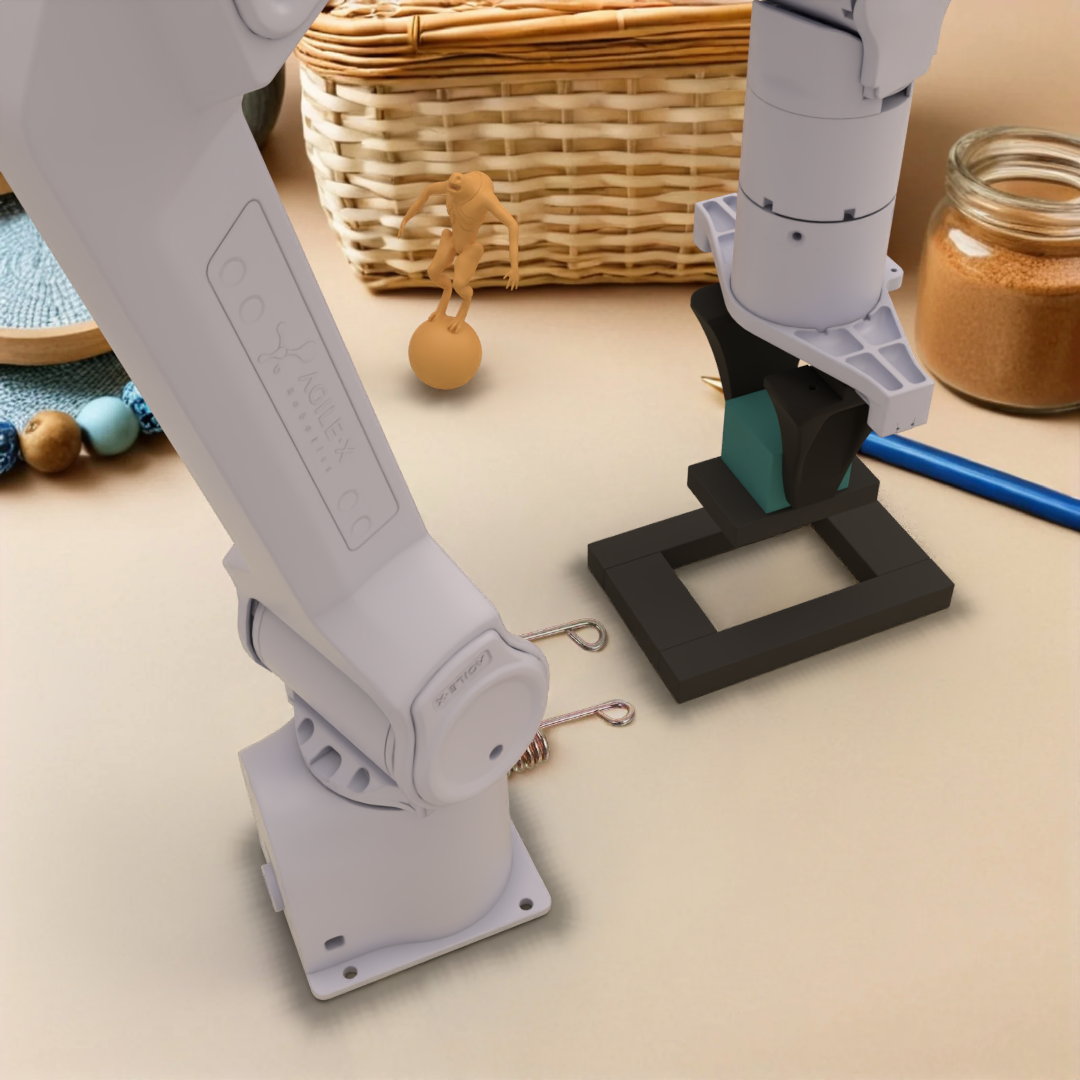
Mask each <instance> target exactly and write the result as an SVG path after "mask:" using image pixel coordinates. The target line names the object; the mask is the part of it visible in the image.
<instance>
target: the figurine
mask: <svg viewBox="0 0 1080 1080" xmlns="http://www.w3.org/2000/svg"><path fill="white" fill-rule="evenodd" d="M431 195H445V209H446V212H447V215H448V217H449V221H450V222H449V223H450V224H451V229H449V228H444V229H443V230H442V231H441V233H440V235H441V236H440V239H439V245H438V248H437V249H436V251H435V254H434V256H433V258H432V260H431V262H430V264H429V266H427V269H426V273H427V276H428V277H429V279H430V281H431V282H433V283H434V284H436V285H437V286H438V287H439V288H441V289H442V290H443V292H442V295H441V297H440V299H439V302H438V305H437V306H436V309H435V310H434V311H433V312H432V313H430V315H429V316H428V318H427V319H426V320H425V321H423V322H422V323H421V324H420V325H418V327H417V328H415V330H414V332H413V333H412V335H411V337H410V340H409V344H408V350H407V352H408V361H409V364H410V367H411V370H412V372H413V373H414V374H415V376H416V377H417V378H418V380H419V381H421V382H422V383H424V384H425V385H427V386H428V387H431V388H432V389H433V388H434V389H436V390H445V391H448V390H454V389H459V388H460V387H462V386H465V384H467V383H469V382H470V381H471V380H472V379H473V378H474V377H475V375H476V374H477V373H478V371H479V369H480V366H481V363H482V358H483V347H482V343H481V339H480V337H479V336H478V334H477V332H476V330H475V329H474V328H473V327H472V326H471V325H470V324H469V323H468V322H467V321H465V320H466V318H467V315H468V312H469V309H470V308H471V304H472V301H473V300H472V297H473V295H474V290H473V288H472V286H470V285H468V284H469V283H470V281H471V280H472V279H473V277H474V276H475V273H476V270H477V267H478V266H479V263H480V261H481V259H482V258H483V257H484V253H485V249H484V245H482V244H481V243H480V242H479V241H476V239H477V237H478V234H479V230H480V228H481V227H482V225H483V222H484V220H485V218H486V216H487V213H488V212H489V213H491V214H492V215H493V216H494V217H495V218H496V219H497V220H498V221H499V222H500V223H502V224H503V225H504V226H505V227H506V228H508V229H507V230H508V241H509V244H508V245H509V246H508V256H509V257H508V258H509V262H510V263H509V264H510V269H509V271H507V272H506V273H505V275H504V276H503V280H505V279H507V277H508V281H507V284H506V286H505V289H506V290H507V289H509V287H511V288H510V291H513V290H514V288H515V290H517V289H518V285H519V280H520V270H519V269H520V268H519V237H520V228H519V224H518V222H517V221H516V219H515V218H514V217H513V215H512V214H511V213H510V212H509V210H507V209H506V208H505V207H504V206H503V205H502V203H501V202H500V200H499V198H498V197H497V195H495V187H494V182H493V180H492V179H491V177H490V176H489V175H488V174H486V173H485V172H482V171H479V170H472V171H469V172H467V173H461V172H458V171H454V172H453V173H451V175H450V176H449V178H448V179H446V180H443V181H437V182H432V183H430V184H428V185H427V186H425V187H424V188H423V190H422V192H421V193H420V195H419V197H418V198H417V199H416V201H414V203H412V205H411V206H410V207H409V208H408V210H407V212H406V213H405V215H404V216H403V218H402V221H401V223H400V226H399V230H398V232H397V239H398V240H399V239H400V237H401V236H402V233H403V232H404V229H405V227H406V225H407V223H408V222H409V221H410V220H412V218H414V217H415V216H416V215H417V214H418V213H419V212H420V211H421V209H422V208H423V206H425V203H427V202H428V200H429V198H430V196H431ZM456 254H457V255H458V256H457V257H456ZM455 257H456V259H455ZM454 260H455V261H454ZM452 265H453V277H452V279H451V278H450V276H448V275H446V274H444V273H443V271H444V270H445V269H449V268H450V267H451V266H452ZM510 285H511V286H510ZM452 286H453V287H452ZM453 288H454V291H455V293H457V294H458V296H460V297H461V298H462V299H463V300H461V301H462V302H461V304H460V306H459V309H458V311H457V313H456V315H455V316H452V315H447V309H448V306H449V303H450V299H451V296H452V293H453Z"/></svg>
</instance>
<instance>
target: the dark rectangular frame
mask: <svg viewBox="0 0 1080 1080" xmlns="http://www.w3.org/2000/svg"><path fill="white" fill-rule="evenodd" d="M808 525H810V526H812V528H813V529H814V530H815V531H816V532H817V534H818V535H819V536H820V537H821V539H822V540H823V541H824V542H825V543H826V545H828V547H829V548H830V549H831V551H833V553H834V554H835V555H836V556H837V558H839V560H840V561H841V562H842V563H843V564H844V566H845V567H846V568H847V569H848V571H849V572H850V573H851V574H852V575H853V576H854V577H855V578H856V580H857V581H858V583H855V584H853V585H849V586H847V587H844V588H841V589H838V590H835V591H832V592H829V593H825V594H823V595H820V596H818V597H814V598H812V599H809V600H806V601H803V602H800V603H797V604H795V605H792V606H789V607H785V608H783V609H780V610H777V611H775V612H772V613H768V614H765V615H763V616H760V617H757V618H754V619H751V620H748V621H745V622H742V623H739V624H737V625H734V626H730V627H728V628H725V629H722V630H719V631H718V630H717V628H716V627H715V625H714V624H713V623H712V621H711V620H710V619H709V617H708V616H707V614H706V613H705V612H704V610H703V609H702V608H701V606H700V605H699V604H698V602H697V600H696V599H695V598H694V597H693V595H692V593H691V592H690V591H689V590H688V588H687V587H686V585H685V584H684V583H683V581H682V580H681V578H680V577H679V576H678V574H677V573H676V571H675V570H674V569H677V568H680V567H683V566H686V565H689V564H690V565H691V564H693V563H696V562H698V561H701V560H704V559H708V558H711V557H713V556H716V555H720V554H723V553H726V552H729V551H733V550H735V549H738V548H741V547H745V546H747V545H750V544H753V543H756V542H760V541H762V540H766V539H768V538H772V537H774V536H777V535H781V534H783V533H787V532H790V531H793V530H796V529H799V528H801V527H804V526H808ZM587 568H588V569H589V571H590V573H591V574H592V575H593V577H594V578H595V580H596V581H597V584H599V586H600V587H601V589H602V590H603V592H604V593H605V595H606V596H607V598H608V600H609V601H610V602H611V604H612V606H613V607H614V609H615V610H616V612H617V613H618V615H619V616H620V618H621V620H622V621H623V622H624V624H625V626H626V627H627V628H628V630H629V632H630V633H631V635H632V636H633V637H634V639H635V641H636V642H637V644H638V645H639V647H640V648H641V650H642V651H643V653H644V655H645V656H646V658H647V659H648V660H649V662H650V664H651V666H652V667H653V668H654V669H655V671H656V672H657V674H658V676H659V678H660V679H661V680H662V682H663V684H664V685H665V687H666V688H667V689H668V691H669V693H670V694H671V695H672V697H673V699H674V701H676V703H677V704H682V703H685V702H688V701H691V700H693V699H696V698H699V697H703V696H704V695H707V694H710V693H713V692H716V691H719V690H721V689H724V688H727V687H729V686H732V685H735V684H738V683H741V682H744V681H746V680H750V679H753V678H754V677H758V676H761V675H763V674H766V673H769V672H771V671H775V670H777V669H780V668H783V667H785V666H788V665H791V664H794V663H797V662H800V661H803V660H806V659H809V658H811V657H813V656H816V655H820V654H822V653H825V652H827V651H831V650H834V649H835V648H839V647H841V646H845V645H847V644H850V643H852V642H856V641H858V640H861V639H864V638H868V637H870V636H872V635H874V634H877V633H881V632H884V631H887V630H889V629H891V628H894V627H897V626H900V625H903V624H905V623H909V622H912V621H915V620H917V619H921V618H923V617H925V616H928V615H931V614H934V613H937V612H939V611H942V610H945V609H947V608H950V607H951V602H952V599H953V595H954V590H955V585H956V584H955V582H953V581H952V579H951V578H950V577H949V575H947V574H946V572H945V571H944V570H942V568H941V567H940V566H939V565H938V564H937V563H936V561H934V560H933V559H932V558H931V557H930V556H929V555H928V554H927V552H926V551H925V550H924V549H923V548H922V547H921V546H920V544H919V543H917V541H916V540H915V539H914V538H913V537H912V536H911V534H909V532H907V530H906V529H905V528H904V527H903V526H902V525H901V524H900V523H899V522H898V521H897V520H896V518H895V517H894V516H893V515H892V514H891V513H890V512H889V511H888V510H887V509H886V508H885V506H884V505H883V504H882V503H881V502H880V501H879V500H878V499H877V501H876V502H873V503H870V504H867V505H864V506H861V507H858V508H855V509H852V510H849V511H846V512H843V513H840V514H837V515H834V516H831V517H828V518H824V519H821V520H818V521H815V522H812V523H809V524H806V525H803V526H800V527H797V528H794V529H791V530H788V531H785V532H782V533H779V534H776V535H773V536H770V537H767V538H764V539H761V540H758V541H755V542H751V543H748V544H745V545H742V546H739V547H736V548H735V547H734V546H733V545H732V544H731V542H730V541H729V540H728V538H727V537H726V536H725V534H724V533H723V532H722V531H721V529H720V528H719V527H718V525H717V524H716V523H715V522H714V520H713V519H712V518H711V516H710V515H709V514H708V512H707V511H706V510H705V509H704V507H703V506H702V507H699V508H696V509H694V510H693V509H692V510H690V511H687V512H684V513H680V514H677V515H674V516H671V517H669V518H665V519H662V520H658V521H655V522H652V523H649V524H646V525H643V526H640V527H637V528H633V529H630V530H627V531H624V532H621V533H618V534H614V535H611V536H609V537H604V538H602V539H599V540H595V541H592V542H590V543H587Z"/></svg>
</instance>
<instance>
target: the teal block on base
mask: <svg viewBox="0 0 1080 1080" xmlns="http://www.w3.org/2000/svg"><path fill="white" fill-rule="evenodd" d="M721 440H722V441H721V449H720V451H721V452H720V455H719V456H716V457H713V458H709V459H706V460H702V461H698V462H695V463H693V464H690V465H688V466H687V477H686V487H687V488H688V490H689V491H690V492H691V493H692V495H693V497H695V499H697V501H698V502H699V504H700V505H701V506H702V507H704V509H705V510H706V511H707V512H708V514H709V515H710V516H711V518H712V519H713V520H714V522H715V523H716V524H717V525H718V527H719V528H720V529H721V531H722V532H723V533H724V534H725V536H726V537H727V538H728V540H729V541H730V542H731V544H732V545H733V546H734V547H735V549H737V548H736V547H738V548H740V547H739V546H741V547H743V546H742V545H744V546H746V545H745V544H747V545H749V544H748V543H750V544H752V543H751V542H753V543H756V542H759V541H762V540H765V539H768V538H767V537H769V538H771V537H770V536H772V537H774V536H773V535H775V536H777V535H776V534H778V535H780V534H779V533H781V534H783V533H782V532H784V533H786V532H785V531H787V532H789V531H788V530H790V531H792V530H791V529H793V530H795V529H794V528H796V529H798V528H797V527H799V528H801V527H800V526H802V527H804V526H803V525H805V526H807V525H806V524H808V525H810V524H809V523H812V522H815V521H818V520H821V519H824V518H828V517H831V516H834V515H837V514H840V513H843V512H846V511H849V510H852V509H855V508H858V507H861V506H864V505H867V504H870V503H873V502H876V501H877V500H878V496H879V491H880V486H881V480H880V479H879V478H878V476H876V475H875V474H874V473H873V472H872V470H871V469H870V468H869V467H868V466H867V465H866V464H865V463H864V462H863V461H862V460H861V459H860V457H859V456H858V455H856V456H855V457H854V459H853V461H852V463H851V465H850V466H849V468H848V470H847V472H846V474H845V476H844V478H843V480H842V482H841V484H840V486H839V488H838V490H837V492H836V494H835V496H834V498H830V499H827V500H824V501H821V502H818V503H815V504H812V505H809V506H806V507H803V508H800V509H793V508H792V507H791V506H790V504H789V503H788V502H787V501H786V497H785V493H784V487H783V479H782V439H781V431H780V426H779V422H778V417H777V414H776V411H775V408H774V405H773V403H772V401H771V399H770V397H769V394H768V392H767V391H766V389H764V390H760V391H757V392H754V393H750V394H747V395H744V396H740V397H737V398H734V399H730V400H727V401H726V402H725V401H724V413H723V425H722V438H721ZM764 538H765V539H764ZM761 539H762V540H761ZM758 540H759V541H758ZM755 541H756V542H755Z"/></svg>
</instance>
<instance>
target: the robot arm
mask: <svg viewBox="0 0 1080 1080" xmlns="http://www.w3.org/2000/svg"><path fill="white" fill-rule="evenodd" d="M329 2H330V0H0V173H1V174H2V176H3V178H4V180H5V181H6V183H7V184H8V185H9V187H10V189H11V190H12V192H13V194H14V195H15V197H16V199H17V200H18V202H19V204H20V205H21V207H22V208H23V209H24V212H25V213H26V215H27V216H28V218H29V219H30V221H31V222H32V224H33V226H34V227H35V229H36V230H37V232H38V233H39V235H40V237H41V238H42V240H43V241H44V243H45V245H46V246H47V247H48V249H49V251H50V253H51V254H52V256H53V257H54V259H55V261H56V262H57V264H58V266H59V267H60V269H61V270H62V272H63V273H64V275H65V277H66V278H67V280H68V281H69V283H70V284H71V286H72V288H73V290H74V291H75V293H76V294H77V296H78V297H79V299H80V300H81V302H82V304H83V305H84V307H85V309H86V310H87V312H88V314H89V315H90V316H91V318H92V320H93V321H94V323H95V324H96V326H97V327H98V330H99V331H100V332H101V334H102V336H103V338H104V339H105V340H106V342H107V343H108V345H109V346H110V348H111V349H112V352H113V353H114V354H115V356H116V358H117V360H118V361H119V362H120V364H121V366H122V367H123V369H124V370H125V372H126V374H127V375H128V378H129V379H130V380H131V381H132V383H133V385H134V386H135V388H136V389H137V391H138V393H139V394H140V396H141V398H142V399H143V401H144V403H145V404H146V406H147V407H148V409H149V411H150V412H151V413H152V415H153V417H154V419H155V420H156V422H157V423H158V425H159V426H160V428H161V429H162V431H163V432H164V434H165V436H166V437H167V439H168V441H169V442H170V444H171V445H172V447H173V448H174V450H175V452H176V453H177V455H178V457H179V459H180V460H181V461H182V463H183V465H184V466H185V468H186V469H187V471H188V472H189V474H190V476H191V477H192V479H193V480H194V482H195V484H196V485H197V487H198V488H199V490H200V492H201V493H202V495H203V497H204V498H205V500H206V501H207V503H208V504H209V506H210V508H211V509H212V511H213V512H214V514H215V516H216V517H217V519H218V520H219V522H220V524H221V525H222V527H223V529H224V530H225V532H226V533H227V535H228V536H229V538H230V540H231V541H232V543H233V544H232V546H231V547H230V549H229V550H228V551H227V553H226V554H225V555H224V557H223V559H222V561H221V562H222V563H221V564H222V567H223V568H224V570H225V571H226V572H227V574H228V576H229V577H230V579H231V581H232V583H233V585H234V587H235V591H236V597H237V627H236V628H237V633H238V638H239V641H240V644H241V646H242V649H243V650H244V651H245V653H246V654H247V656H248V657H249V658H250V659H251V660H252V661H253V662H255V663H256V664H257V665H259V666H260V667H263V668H264V669H265V670H267V671H269V672H270V673H272V674H274V675H275V676H276V677H277V678H278V679H280V680H281V681H282V682H283V684H284V689H285V692H286V696H287V702H288V703H289V704H290V705H291V706H292V707H293V717H292V718H290V719H289V720H288V721H287V722H286V723H285V724H284V725H282V726H281V727H280V728H278V729H276V730H275V731H274V732H272V733H270V734H268V735H267V736H265V737H264V738H262V739H260V740H257V741H256V742H254V743H252V744H250V745H247V746H246V747H244V748H242V749H240V750H239V751H237V757H238V761H239V766H240V769H241V773H242V774H241V775H242V777H243V781H244V785H245V789H246V792H247V795H248V796H247V797H248V799H249V803H250V807H251V812H252V814H253V818H254V821H255V826H256V829H257V833H258V839H259V845H260V848H261V850H262V853H263V856H264V859H265V862H266V863H264V864H262V865H261V866H260V870H261V874H262V877H263V880H264V883H265V886H266V889H267V892H268V895H269V898H270V901H271V904H272V907H273V909H274V912H275V913H279V912H282V911H283V914H284V916H285V919H286V922H287V926H288V928H289V931H290V934H291V937H292V939H293V943H294V945H295V949H296V951H297V954H298V957H299V959H300V962H301V965H302V968H303V971H304V974H305V977H306V980H307V982H308V985H309V989H310V991H311V993H312V995H313V996H314V997H313V998H316V999H317V1000H320V1001H327V1000H330V999H333V998H336V997H338V996H341V995H343V994H346V993H348V992H351V991H353V990H356V989H358V988H361V987H364V986H366V985H369V984H371V983H374V982H376V981H379V980H382V979H385V978H386V977H388V976H389V977H390V976H392V975H394V974H397V973H399V972H402V971H405V970H407V969H410V968H412V967H415V966H417V965H420V964H422V963H425V962H428V961H431V960H433V959H436V958H438V957H440V956H443V955H446V954H448V953H451V952H453V951H455V950H458V949H461V948H463V947H466V946H468V945H472V944H474V943H476V942H479V941H481V940H483V939H486V938H489V937H491V936H493V935H496V934H499V933H502V932H504V931H506V930H510V929H511V928H514V927H517V926H520V925H523V924H524V923H527V922H530V921H532V920H534V919H537V918H540V917H542V916H545V915H546V914H548V913H549V912H550V910H551V909H552V897H551V894H550V893H549V890H548V888H547V887H546V884H545V882H544V881H543V878H542V877H541V874H540V873H539V871H538V868H537V866H536V865H535V862H534V861H533V859H532V857H531V855H530V853H529V851H528V849H527V847H526V845H525V843H524V841H523V839H522V837H521V834H520V833H519V831H518V830H517V827H516V825H515V824H514V821H513V819H512V818H511V813H510V812H511V811H510V795H509V782H508V773H509V772H510V771H511V770H512V769H513V767H514V766H515V765H517V763H518V762H519V760H520V759H521V758H522V757H523V755H525V753H526V751H527V750H528V748H529V747H530V745H531V744H532V742H533V740H534V739H535V737H536V735H537V733H538V731H539V729H540V727H541V725H542V722H543V720H544V716H545V714H546V709H547V705H548V699H549V693H550V692H549V691H550V682H551V681H550V680H551V671H550V664H549V662H548V659H547V656H546V655H545V653H544V652H543V651H542V650H541V648H540V647H538V646H537V645H536V644H535V643H533V641H531V640H529V639H527V638H524V637H522V636H520V635H518V634H516V633H512V632H510V631H509V630H508V629H506V626H505V624H504V622H503V620H502V617H501V614H500V612H499V611H498V609H497V608H496V606H495V605H494V604H493V603H492V602H491V601H490V600H489V598H488V597H487V596H486V595H485V594H484V593H483V592H482V591H481V589H480V588H479V587H478V586H477V585H476V584H475V583H474V582H473V580H472V579H470V577H469V576H468V575H467V574H466V573H465V572H464V571H463V570H462V569H461V567H460V566H459V565H458V564H457V563H456V561H454V560H453V559H452V558H451V556H450V555H449V554H448V553H447V552H446V551H445V550H444V549H443V547H442V546H441V545H440V544H439V543H438V542H437V541H436V540H435V539H434V537H433V536H432V535H431V534H430V533H429V531H428V528H427V527H426V524H425V522H424V520H423V518H422V515H421V513H420V511H419V509H418V506H417V504H416V502H415V499H414V497H413V494H412V493H411V491H410V488H409V486H408V484H407V481H406V479H405V477H404V475H403V473H402V469H401V468H400V466H399V463H398V460H397V458H396V456H395V454H394V452H393V449H392V447H391V445H390V443H389V441H388V439H387V436H386V433H385V432H384V429H383V427H382V424H381V423H380V420H379V418H378V416H377V414H376V411H375V409H374V407H373V405H372V403H371V400H370V398H369V396H368V393H367V391H366V389H365V386H364V384H363V381H362V380H361V378H360V377H361V376H360V375H359V373H358V370H357V368H356V366H355V364H354V361H353V359H352V357H351V355H350V352H349V350H348V348H347V345H346V343H345V341H344V339H343V337H342V335H341V331H340V330H339V328H338V326H337V323H336V321H335V318H334V317H333V313H332V312H331V310H330V307H329V305H328V303H327V300H326V298H325V296H324V293H323V291H322V289H321V287H320V285H319V283H318V282H319V281H318V280H317V277H316V276H315V274H314V273H315V272H314V271H313V269H312V267H311V264H310V262H309V259H308V258H307V255H306V253H305V251H304V248H303V246H302V244H301V242H300V240H299V237H298V234H297V233H296V230H295V228H294V226H293V224H292V223H293V222H292V221H291V219H290V216H289V214H288V212H287V210H286V208H285V206H284V203H283V201H282V199H281V197H280V193H279V192H278V189H277V187H276V185H275V183H274V180H273V179H272V176H271V174H270V171H269V169H268V167H267V164H266V163H265V161H264V158H263V155H262V153H261V151H260V149H259V147H258V144H257V142H256V139H255V137H254V135H253V133H252V131H251V128H250V126H249V124H248V121H247V119H246V117H245V115H244V112H243V106H242V105H243V104H242V103H243V99H244V95H246V94H249V93H253V92H254V91H258V90H260V89H262V88H266V87H267V86H268V85H269V84H270V83H271V82H272V81H273V80H274V78H275V77H276V75H277V74H278V72H280V70H281V69H282V67H283V66H284V64H285V63H286V61H288V59H289V57H290V56H291V54H293V52H294V51H295V49H296V47H297V46H298V45H299V43H300V42H301V40H302V39H303V38H304V36H305V35H306V34H307V32H308V31H309V30H310V28H311V26H312V25H313V24H314V22H315V21H316V20H317V18H318V17H319V15H320V14H321V13H322V11H324V8H325V7H326V6H327V4H328V3H329ZM951 3H952V0H752V1H751V14H750V17H751V18H750V27H749V40H748V52H747V54H748V55H747V66H746V67H747V68H746V81H745V95H744V109H743V119H742V133H741V145H740V157H739V158H740V159H739V171H738V172H739V173H738V181H737V192H731V193H728V194H724V195H720V196H716V197H712V198H709V199H704V200H700V201H696V202H695V203H694V211H693V212H694V214H693V230H692V231H693V232H692V243H693V244H694V245H695V246H696V247H697V248H698V249H699V250H700V251H701V252H703V253H708V254H709V253H711V255H712V258H713V262H714V266H715V271H716V275H717V277H718V282H717V283H713V284H709V285H705V286H702V287H699V288H698V289H696V290H695V291H694V292H693V293H692V294H691V295H690V303H689V306H690V309H691V311H692V312H693V314H694V316H695V318H696V319H697V321H698V323H699V324H700V327H701V329H702V330H703V333H704V335H705V337H706V340H707V341H708V342H707V343H708V345H709V347H710V350H711V352H712V355H713V358H714V361H715V364H716V368H717V372H718V375H719V379H720V384H721V389H722V393H723V399H724V403H725V402H726V401H727V400H730V399H734V398H737V397H740V396H744V395H747V394H750V393H754V392H757V391H760V390H764V389H766V391H767V392H768V394H769V397H770V399H771V401H772V403H773V405H774V408H775V411H776V414H777V417H778V422H779V426H780V431H781V439H782V479H783V487H784V493H785V497H786V501H787V502H788V503H789V504H790V506H791V507H792V508H793V509H800V508H803V507H806V506H809V505H812V504H815V503H818V502H821V501H824V500H827V499H830V498H834V496H835V494H836V492H837V490H838V488H839V486H840V484H841V482H842V480H843V478H844V476H845V474H846V472H847V470H848V468H849V466H850V465H851V463H852V461H853V459H854V457H855V456H857V454H858V453H859V451H860V449H861V447H862V446H863V444H864V443H865V441H866V440H867V438H868V437H869V436H870V434H871V433H872V432H874V433H875V434H876V435H877V436H878V437H879V438H881V439H882V438H885V437H888V436H892V435H894V434H895V435H896V434H901V433H904V432H905V431H910V430H913V429H914V428H917V427H920V426H923V425H927V424H928V419H929V414H930V409H931V405H932V399H933V394H934V389H935V384H936V381H934V380H933V378H932V377H931V376H930V375H929V374H928V373H927V372H926V371H925V370H924V369H923V367H922V366H921V365H920V363H919V362H918V360H917V358H916V356H915V354H914V352H913V350H912V347H911V345H910V342H909V339H908V338H907V335H906V332H905V329H904V328H903V325H902V323H901V321H900V317H899V316H898V313H897V311H896V308H895V305H894V303H893V301H892V298H891V296H890V294H889V293H890V292H893V291H896V290H898V289H900V288H901V287H902V284H903V279H904V272H905V271H904V270H903V268H902V267H901V266H900V265H899V264H897V263H896V262H895V261H894V260H893V259H892V258H891V257H890V256H889V255H888V249H889V243H890V236H891V229H892V224H893V218H894V212H895V206H896V200H897V194H898V187H899V181H900V175H901V169H902V165H903V164H902V163H903V158H904V150H905V145H906V140H907V133H908V126H909V120H910V115H911V109H912V102H913V95H914V89H915V84H916V80H918V79H919V78H921V77H923V76H925V74H927V73H928V71H929V70H930V68H931V64H932V59H933V57H934V56H936V55H937V54H938V47H939V43H940V42H939V41H940V37H941V30H942V27H943V22H944V19H945V16H946V13H947V10H948V8H949V6H950V4H951ZM800 361H803V362H805V363H807V364H805V365H800ZM799 365H800V366H799ZM524 905H529V906H530V907H531V908H529V909H522V908H521V907H522V906H524ZM349 973H355V974H356V975H355V976H354V977H352V978H346V975H347V974H349Z"/></svg>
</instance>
